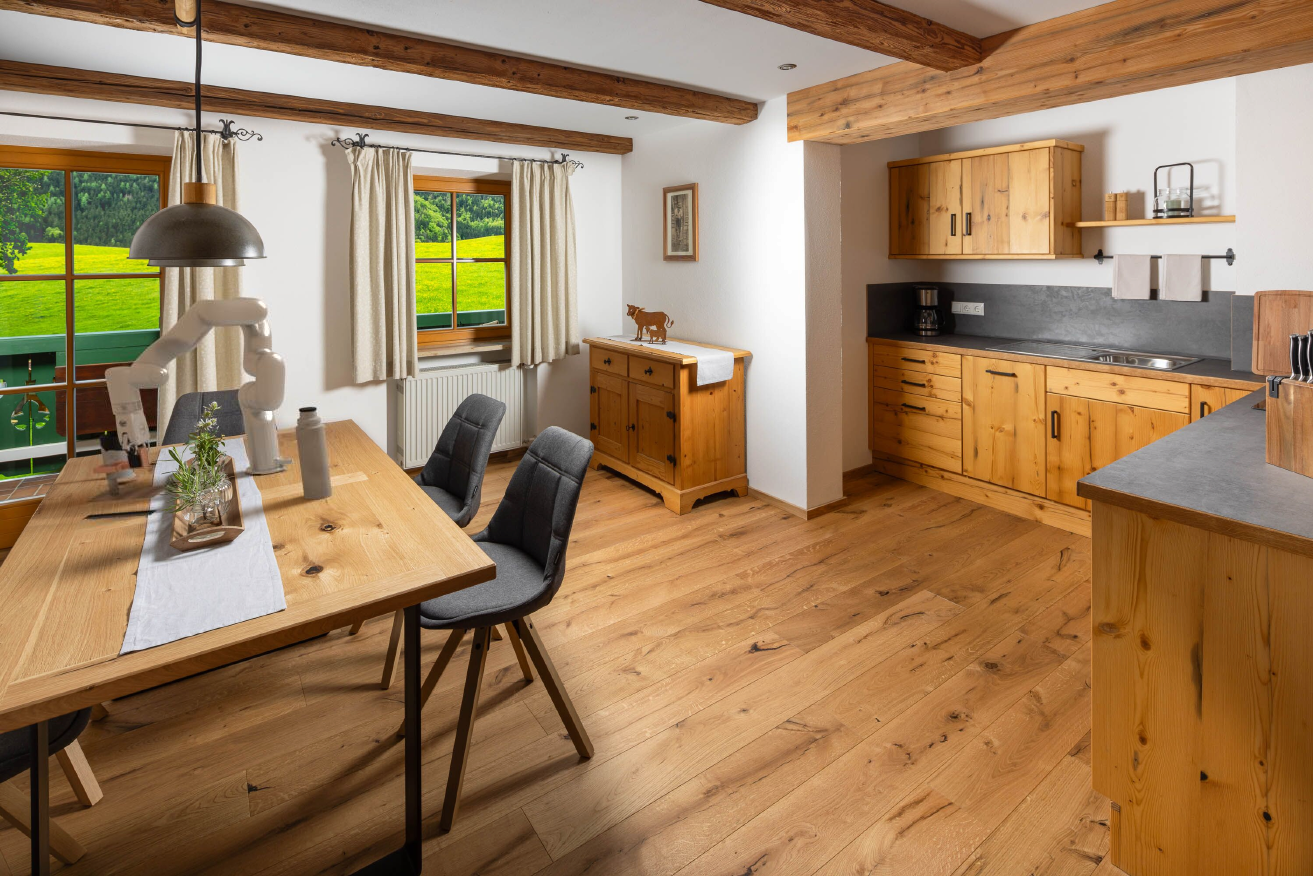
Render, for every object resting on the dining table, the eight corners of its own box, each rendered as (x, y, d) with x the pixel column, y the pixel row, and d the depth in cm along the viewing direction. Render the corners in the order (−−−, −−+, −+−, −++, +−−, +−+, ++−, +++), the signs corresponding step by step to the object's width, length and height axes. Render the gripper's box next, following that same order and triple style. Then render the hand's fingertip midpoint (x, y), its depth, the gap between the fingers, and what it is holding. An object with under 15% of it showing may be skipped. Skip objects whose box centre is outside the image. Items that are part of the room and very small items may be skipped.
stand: (170, 489, 238) (164, 452, 235) (154, 502, 225) (147, 462, 222) (107, 494, 234) (100, 456, 231) (86, 507, 221) (78, 467, 218)
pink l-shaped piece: (152, 463, 232) (148, 445, 231) (142, 470, 225) (138, 451, 224) (104, 467, 230) (100, 448, 228) (92, 474, 223) (88, 454, 221)
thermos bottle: (310, 492, 234) (299, 405, 227) (336, 491, 234) (326, 405, 228) (299, 499, 226) (288, 410, 220) (326, 499, 226) (315, 409, 220)
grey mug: (108, 476, 255) (100, 433, 251) (157, 471, 260) (150, 429, 257) (101, 482, 247) (93, 439, 243) (151, 477, 252) (144, 434, 249)
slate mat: (166, 502, 225) (166, 501, 225) (150, 515, 213) (150, 513, 213) (103, 507, 221) (103, 505, 221) (83, 520, 210) (82, 518, 209)
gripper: (129, 412, 217) (141, 471, 221) (152, 401, 233) (163, 457, 237) (100, 414, 215) (113, 474, 220) (125, 403, 231) (137, 459, 235)
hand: (139, 464), depth 228 cm, fingers closed on pink l-shaped piece, 4 cm apart
